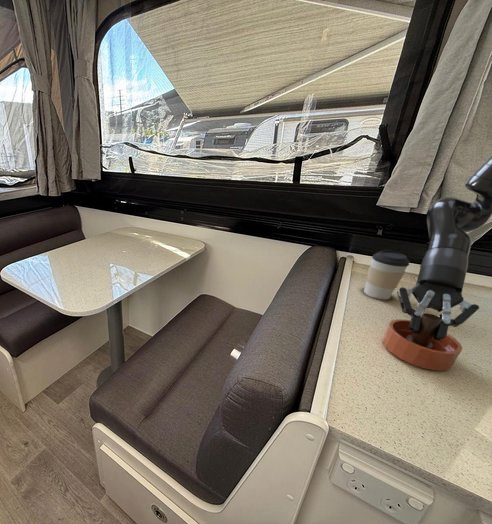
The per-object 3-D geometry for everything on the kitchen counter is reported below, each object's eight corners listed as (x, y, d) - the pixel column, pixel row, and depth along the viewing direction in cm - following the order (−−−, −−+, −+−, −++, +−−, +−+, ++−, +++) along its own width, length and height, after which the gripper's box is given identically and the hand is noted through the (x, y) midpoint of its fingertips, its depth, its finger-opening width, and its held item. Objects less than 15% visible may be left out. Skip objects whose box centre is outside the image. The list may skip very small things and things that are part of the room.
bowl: (431, 342, 69) (441, 325, 67) (464, 378, 59) (477, 359, 56) (373, 332, 73) (380, 315, 71) (394, 364, 63) (403, 346, 60)
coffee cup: (399, 303, 86) (418, 260, 80) (365, 298, 89) (381, 257, 83) (386, 289, 94) (403, 249, 88) (356, 285, 96) (370, 247, 90)
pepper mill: (421, 346, 67) (439, 313, 63) (432, 359, 63) (451, 325, 59) (398, 342, 68) (414, 309, 64) (407, 354, 64) (425, 320, 60)
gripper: (408, 256, 67) (390, 320, 63) (495, 272, 58) (480, 346, 55) (399, 268, 72) (382, 327, 69) (477, 284, 64) (462, 352, 61)
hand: (425, 335), depth 62 cm, fingers closed on pepper mill, 3 cm apart
